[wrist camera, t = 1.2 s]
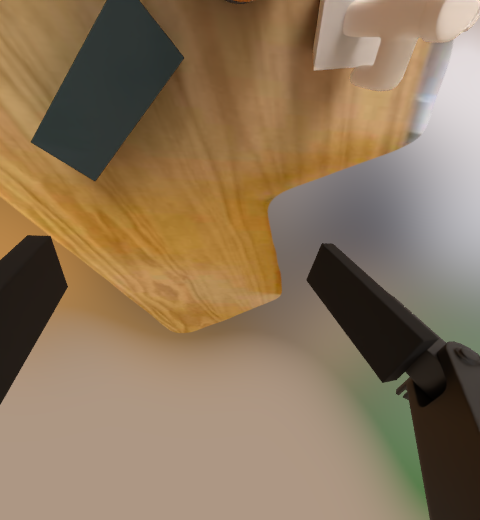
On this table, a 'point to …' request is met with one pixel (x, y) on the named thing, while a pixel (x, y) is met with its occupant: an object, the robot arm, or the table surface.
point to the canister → (239, 1)
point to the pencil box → (108, 87)
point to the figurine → (384, 35)
